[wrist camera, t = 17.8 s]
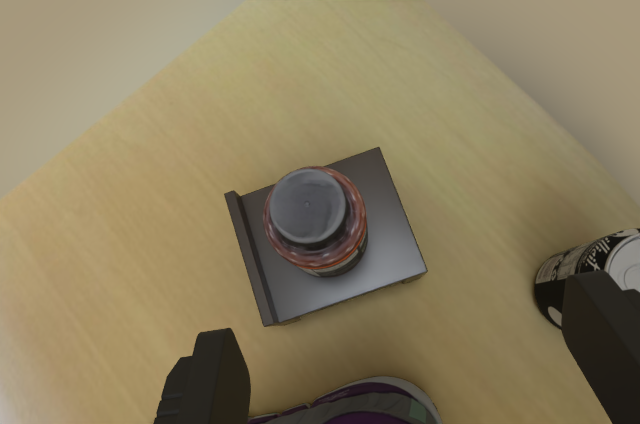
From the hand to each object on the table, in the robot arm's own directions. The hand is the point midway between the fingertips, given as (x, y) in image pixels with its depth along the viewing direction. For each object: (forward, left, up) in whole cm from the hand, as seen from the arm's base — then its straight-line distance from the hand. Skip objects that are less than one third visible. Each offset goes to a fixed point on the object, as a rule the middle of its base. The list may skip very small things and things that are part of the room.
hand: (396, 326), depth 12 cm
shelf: (+2, -7, -29) cm, 30 cm away
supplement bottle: (+2, -7, -23) cm, 24 cm away
